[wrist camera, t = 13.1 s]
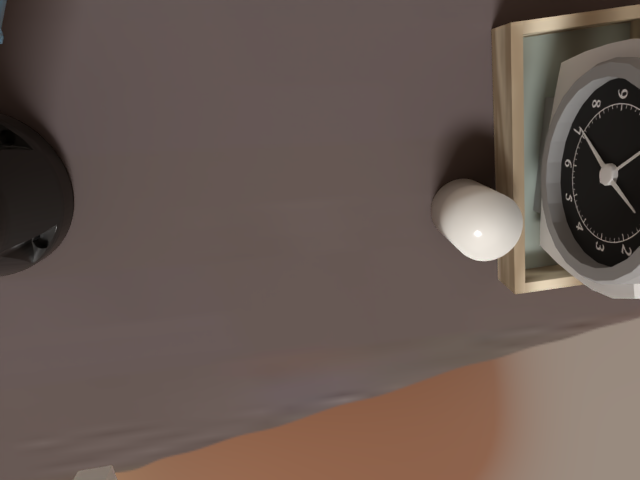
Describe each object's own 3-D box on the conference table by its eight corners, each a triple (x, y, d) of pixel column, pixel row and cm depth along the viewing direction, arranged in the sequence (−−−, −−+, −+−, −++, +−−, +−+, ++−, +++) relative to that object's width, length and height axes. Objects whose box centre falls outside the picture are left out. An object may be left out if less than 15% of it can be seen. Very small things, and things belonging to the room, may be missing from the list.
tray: (498, 278, 49) (514, 294, 45) (491, 29, 42) (510, 22, 38) (622, 261, 49) (649, 274, 45) (636, 8, 42) (669, 0, 38)
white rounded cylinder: (432, 241, 48) (454, 265, 41) (428, 183, 46) (450, 197, 39) (491, 233, 48) (523, 255, 41) (489, 174, 46) (522, 187, 39)
